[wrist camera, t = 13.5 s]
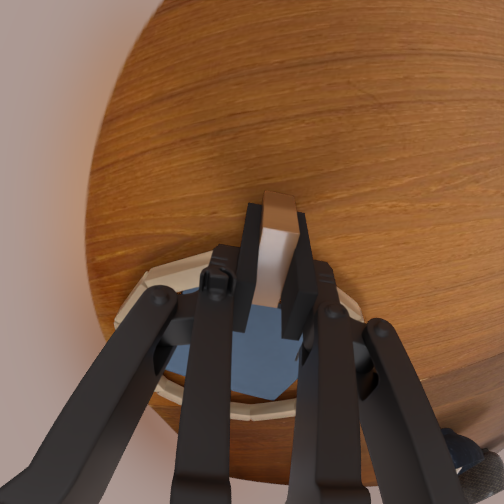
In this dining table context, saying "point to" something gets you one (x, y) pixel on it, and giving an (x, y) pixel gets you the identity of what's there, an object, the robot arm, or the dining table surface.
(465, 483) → the planter
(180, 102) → the dining table surface
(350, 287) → the dining table surface
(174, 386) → the segmented ring with tab
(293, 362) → the mat
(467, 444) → the bowl
